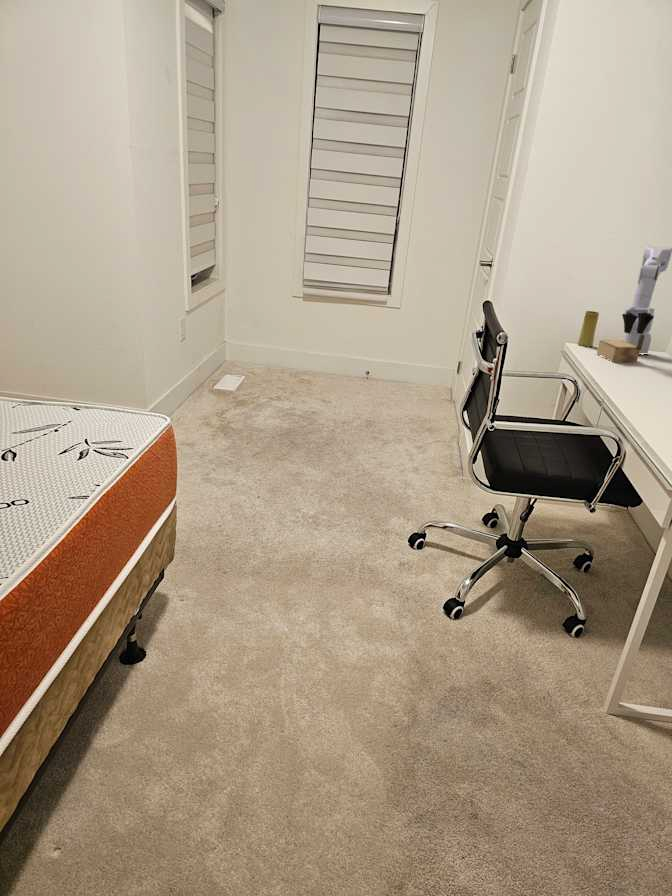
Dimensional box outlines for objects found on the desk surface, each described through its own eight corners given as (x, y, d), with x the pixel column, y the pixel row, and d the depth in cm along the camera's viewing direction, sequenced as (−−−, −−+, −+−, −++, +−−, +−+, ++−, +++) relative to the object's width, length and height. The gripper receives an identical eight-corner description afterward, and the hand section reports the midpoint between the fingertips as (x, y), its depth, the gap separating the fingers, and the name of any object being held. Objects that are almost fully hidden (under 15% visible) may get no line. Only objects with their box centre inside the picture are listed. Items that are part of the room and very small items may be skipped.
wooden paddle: (635, 361, 238) (642, 334, 234) (638, 363, 236) (646, 335, 232) (612, 361, 236) (619, 334, 232) (615, 362, 234) (622, 335, 230)
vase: (595, 347, 260) (603, 313, 254) (583, 347, 258) (591, 313, 253) (586, 343, 265) (593, 310, 260) (574, 343, 264) (581, 310, 258)
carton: (618, 355, 248) (622, 340, 246) (635, 362, 238) (638, 347, 236) (596, 354, 247) (599, 340, 244) (611, 361, 237) (615, 346, 234)
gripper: (621, 296, 237) (612, 330, 239) (646, 294, 223) (636, 331, 225) (637, 299, 238) (628, 334, 240) (662, 298, 224) (652, 334, 226)
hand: (633, 333), depth 233 cm, fingers open, 7 cm apart
